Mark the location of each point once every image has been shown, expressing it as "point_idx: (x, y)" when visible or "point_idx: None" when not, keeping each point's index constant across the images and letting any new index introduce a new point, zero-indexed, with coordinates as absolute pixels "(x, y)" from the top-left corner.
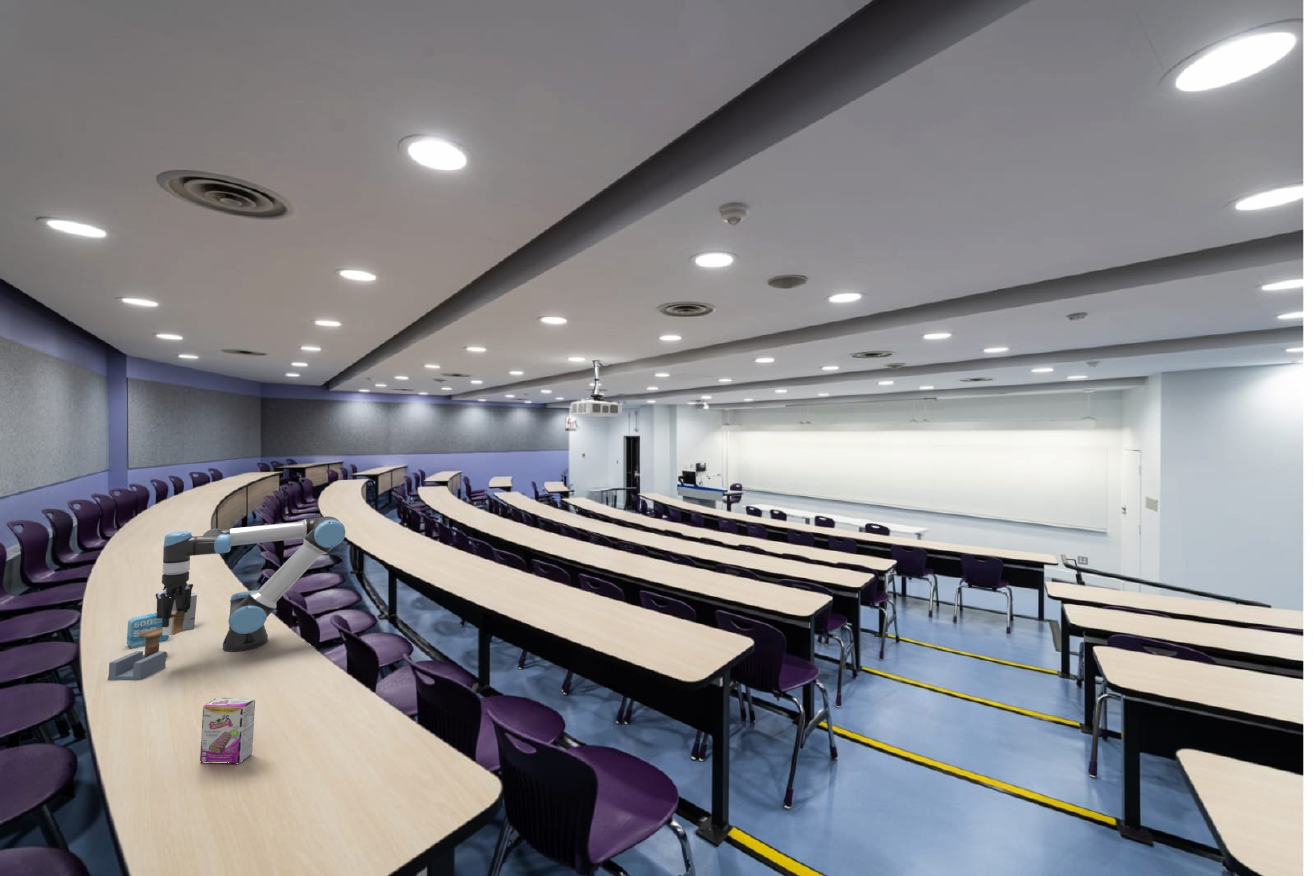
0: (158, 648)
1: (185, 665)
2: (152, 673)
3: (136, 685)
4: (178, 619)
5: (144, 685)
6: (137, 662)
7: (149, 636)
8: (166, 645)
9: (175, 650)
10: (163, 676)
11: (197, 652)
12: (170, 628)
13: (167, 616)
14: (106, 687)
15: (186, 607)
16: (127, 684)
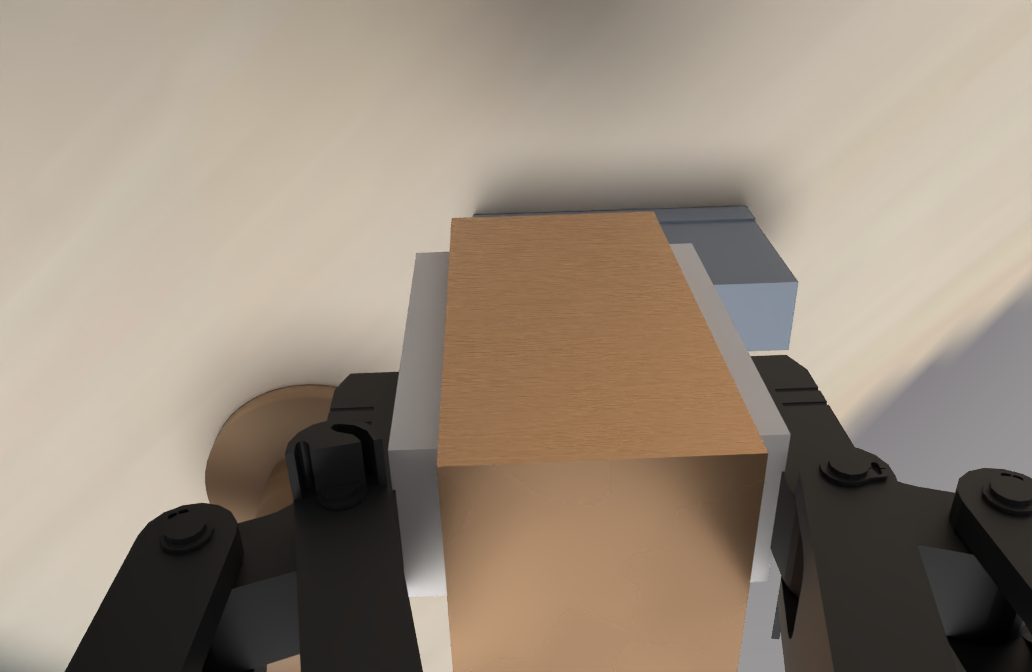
0: (279, 502)
1: (408, 53)
2: (616, 211)
3: (865, 134)
4: (592, 351)
5: (876, 57)
6: (780, 325)
7: None
8: (47, 587)
9: (112, 444)
10: (678, 49)
11: (91, 213)
12: (714, 304)
13: (901, 499)
14: (868, 343)
15: (232, 576)
16: (830, 231)
